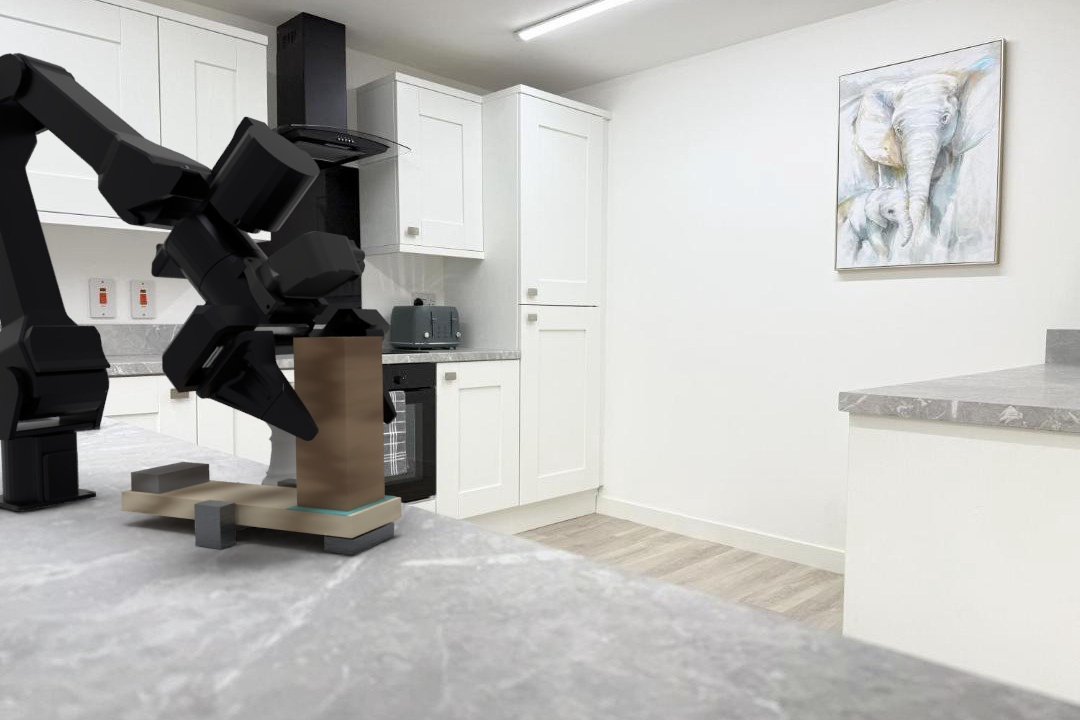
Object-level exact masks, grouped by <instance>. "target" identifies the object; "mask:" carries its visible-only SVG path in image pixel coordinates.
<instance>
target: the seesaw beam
mask: <svg viewBox="0 0 1080 720" xmlns="http://www.w3.org/2000/svg"><path fill="white" fill-rule="evenodd" d="M210 475H211V474H210V463H206V462H205V463H203V462H191V461H190V462H189V461H180V462H174V463H170V464H165V465H161V466H160V465H159V466H155V467H150V468H146V469H141V470H135V471H131V472H130V486H131V487H130V489H128V490H125V491H121V493H120V495H121V496H120V497H121V511H122V512H129V513H137V514H138V513H139V514H144V515H145V514H147V515H154V516H162V517H163V516H164V517H170V518H180V519H187V520H188V519H189V520H195V509H194V504H196V503H200V502H204V501H207V500H216V501H224V502H233V503H235V530H236V532H239V531H241V530H245V529H248V528H251V527H256V528H261V529H262V528H265V529H272V530H280V531H289V532H296V533H297V532H298V533H305V534H313V535H324V536H326V535H329V536H338V537H346V538H354V537H356V536H358V535H361V534H363V533H365V532H368V531H370V530H373V529H375V528H377V527H380V526H382V525H384V524H387V523H389V522H394V521H396V520H399V519H401V518H402V497H399V496H398V497H397V496H395V495H386V494H385V498H384V499H381V500H379V501H376V502H373V503H370V504H368V505H365V506H362V507H359V508H356V509H354V510H351V511H348V512H347V511H338V510H328V509H318V508H308V507H299V506H297V488H291V487H280V486H269V485H261V484H254V483H245V482H235V481H233V482H232V481H224V480H212V479H210Z"/></svg>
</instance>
